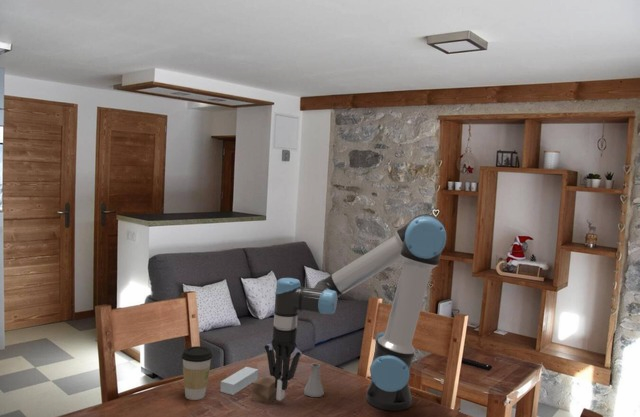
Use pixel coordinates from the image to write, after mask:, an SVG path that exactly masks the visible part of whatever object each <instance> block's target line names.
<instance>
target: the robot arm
mask: <svg viewBox="0 0 640 417" xmlns="http://www.w3.org/2000/svg"><path fill="white" fill-rule="evenodd" d="M446 243H447V232H446V228H445V226H444V224H442V221H441V220H440V219H438V218H437V217H436V216H434V215H432V214H428V213H424V214H423V213H422V214H419V215H416V216H414V217H413V218H412V219H411V220H409V222H407V223H406V224H404V226H402V227H401V228H400V229H397V230H396V231H395V234H394V236H392V237H391V238H389V239H387V240H386V241H384V242H382V243H381V244H379V245H377V246H376V247H375V248H372V249H371V250H369V251H367V252H366V253H365V254H363V255H361V256H360V257H358V258H356V259H355V260H353V261H351V262H349V263H348V264H346V265H345V266H343V267H342V268H340V269H338V270H337V271H335V272H334V273H332V274H331V275H329V276H327V277H326V278H323V279H320V281H317V283H316V284H315V285H314V287H306V286H301V282H300V280H299V279H297V278H294V277H282V278H279V279H278V280H277V281H276V288H275V294H274V295H275V296H274V302H275V303H274V313H273V314H274V315H273V329H272V341H271V343H267V344H265V345H264V349H265V351H266V355H267V362H268V370H269V375H270V376H271V377H274V380H275V388H277V395H276V399H275V400H276V401H282V400H283V399H285V391H286V390H287V389H288V385H289V382H288V381H290V380H292V379H293V378H294V377H295V375H296V374H295V373H296V370H297V368H298V364H299V361H300V358H301V357H302V355H303V353H304V352H303V350H300V349H299V348H297V347H298V345H297V332H298V331H297V327H298V317H299V316H298V315H299V311H301V312H309V313H315V314H321V315H333V314H335V312H336V309H337V304H338V298H340V297H341V296H343V295H344V294H345V293H347V292H349V291H350V290H352V289H354V288H355V287H357V286H358V285H360V284H362V283H364V282H365V281H367V280H369V279H370V278H372V277H374V276H375V275H377V274H378V273H380V272H383V271H384V270H385V269H387V268H389V267H391V266H392V265H394V264H395V263H397V262H399V261H401V260H402V261H403V263H402V267H401V270H400V275H399V279H398V282H397V285H396V290H395V294H394V297H393V301H392V304H391V308H390V309H391V310H390V313H389V315H388V316H389V317H388V320H387V324H386V327H385V328H386V329H385V331H381V332H378V333H376V336H375V339H374V341H375V343H374V344H375V346H374V352H373V353H374V354H373V357H372V362H371V363H370V367H369V372H370V378H371V380H370V383H369V385H368V387H367V390H366V396H365V399H366V402H367V403H368V404H369V405H371V406H373V407H375V408H376V409H380V410H385V411H395V412H398V411H404V410H407V409H409V408H410V407H411V406H412V398H413V397H412V393H411V389H410V385H409V380H410V376H411V373H410V372H411V371H410V370H411V367H412V364H413V363H412V362H413V360H414V356H415V351H416V349H415V347H414V345H413V340H414V336H415V333H416V329H417V325H418V321H419V318H420V313H421V310H422V307H423V303H424V299H425V295H426V292H427V288H428V284H429V281H430V277H431V272H432V269H435V268H436V267H438V266H439V262H440V259H441V255H442V253H443V250H444V248H445V246H446ZM292 353H293V358H292V360H291V356H292ZM290 360H291V362H290Z"/></svg>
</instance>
